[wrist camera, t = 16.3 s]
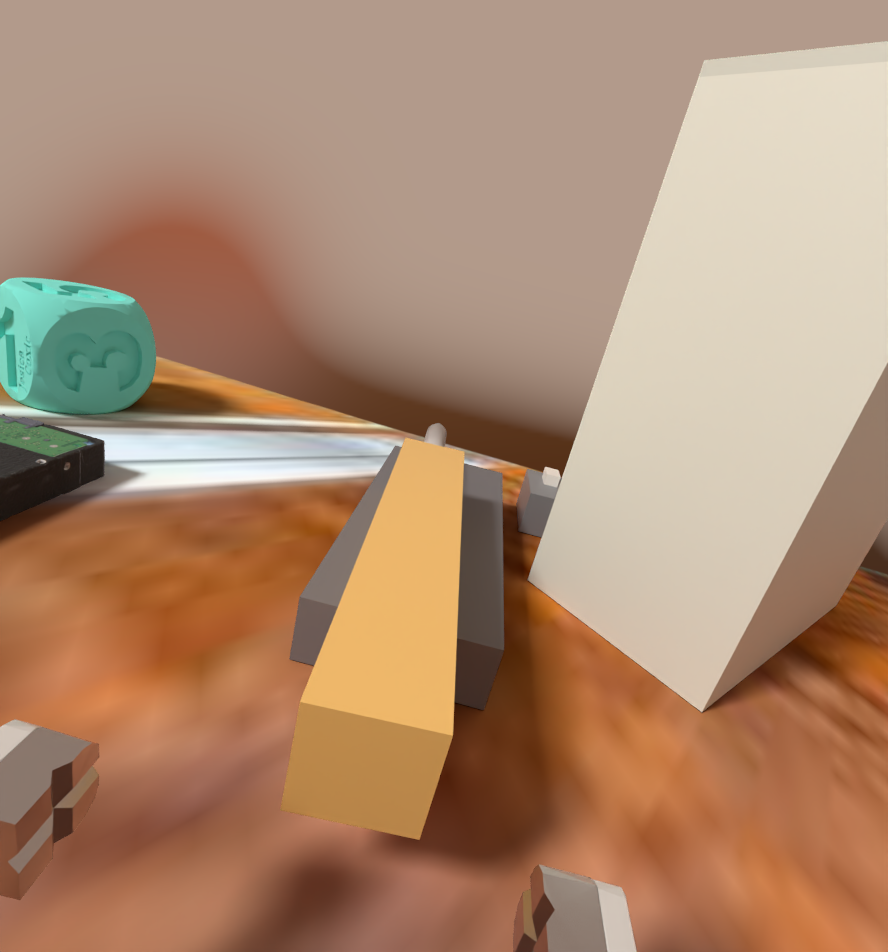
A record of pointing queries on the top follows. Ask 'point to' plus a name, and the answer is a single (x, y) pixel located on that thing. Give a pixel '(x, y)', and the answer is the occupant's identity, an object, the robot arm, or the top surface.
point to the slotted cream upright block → (740, 381)
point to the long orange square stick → (388, 659)
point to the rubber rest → (476, 582)
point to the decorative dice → (73, 346)
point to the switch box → (537, 500)
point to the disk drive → (43, 463)
